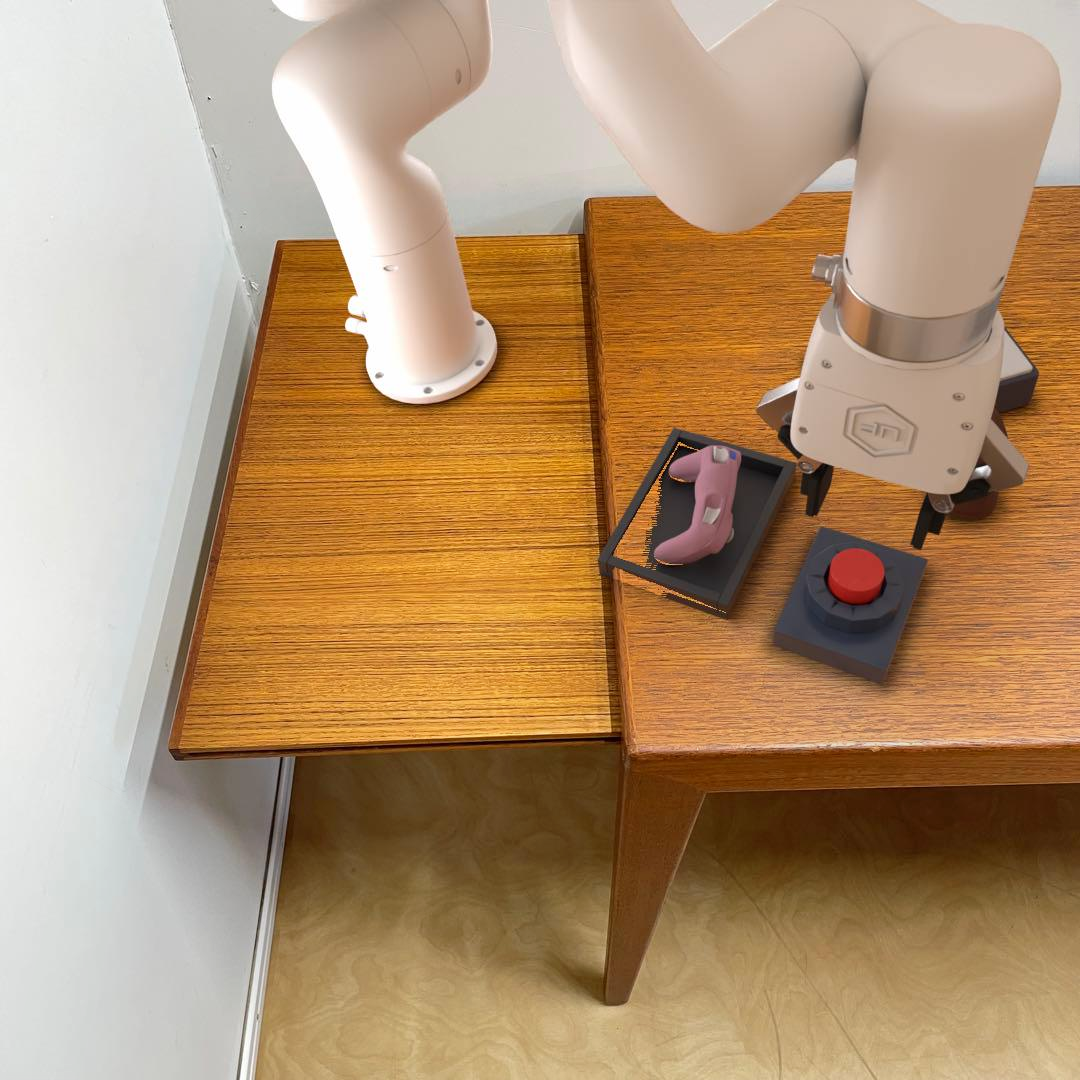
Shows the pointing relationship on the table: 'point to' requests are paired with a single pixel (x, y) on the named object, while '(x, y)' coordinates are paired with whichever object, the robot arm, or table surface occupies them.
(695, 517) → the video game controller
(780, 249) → the table surface
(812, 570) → the button base
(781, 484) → the tray
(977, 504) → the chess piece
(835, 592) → the button
